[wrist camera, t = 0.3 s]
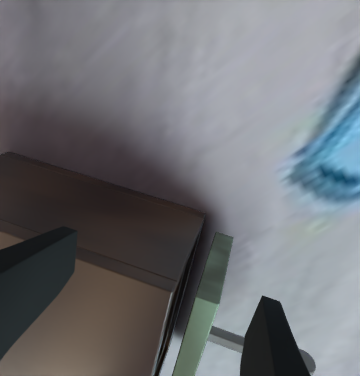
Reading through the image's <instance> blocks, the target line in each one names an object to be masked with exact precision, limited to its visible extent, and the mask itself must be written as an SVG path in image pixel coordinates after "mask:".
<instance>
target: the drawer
mask: <svg viewBox="0 0 360 376" xmlns="http://www.w3.org/2000/svg"><path fill="white" fill-rule="evenodd" d="M232 242H233V237H232V236H228V235H225V234H222V233H219V232H216V233H215V236H214V239H213V242H212V245H211V249H210V252H209V255H208V258H207V261H206V264H205V268H204V271H203V274H202V277H201V280H200V283H199V286H198V290H197V293H196V296H195V299H194V303H193V306H192V309H191V313H190V316H189V320H188V323H187V326H186V330H185V333H184V337H183V340H182V343H181V347H180V350H179V354H178V357H177V360H176V364H175V367H174V371H173V374H172V376H195V374H196V371H197V368H198V365H199V362H200V359H201V356H202V353H203V351H204V348H205V345H206V342H207V340H208V341H210V342H213V343H216V344H218V345H221V346H224V347H226V348H229V349H232V350H234V351H237V352H240V353H242V351H243V345H244V339H245V338H244V337H241V336H239V335H236V334H233V333H230V332H228V331H225V330H222V329H220V328H217V327H214V326H212V324H213V321H214V319H215V316H216V313H217V310H218V307H219V304H220V299H221V294H222V289H223V285H224V280H225V275H226V271H227V266H228V261H229V256H230V252H231V247H232ZM185 268H186V266H185ZM184 272H185V269H184V271H183V274H182V276H181V278H180V281H179V283H178V286H177V288H176V291H175V293H174V297H173V301H172V304H171V308H170V312H169V316H168V320H167V324H166V328H165V332H164V336H163V340H162V344H161V348H160V352H159V356H158V360H157V364H156V368H155V371H154V375H155V372H156V369H157V367H158V364H159V361H160V358H161V356H162V353H163V350H164V347H165V344H166V340H167V337H168V333H169V329H170V325H171V321H172V317H173V314H174V310H175V306H176V302H177V298H178V295H179V291H180V287H181V283H182V279H183V275H184ZM299 351H300V353H301V355H302V358H303V360H304V362H305V364H306V366H307V369H308V371H309V373H310V375H311V376H312V375H313V373H314V371H315V369H316V365H315V362H314V360H313V358H312V357H311V356H310V355H309V354H308V353H307V352H305V351H304V350H301V349H299ZM154 375H153V376H154Z"/></svg>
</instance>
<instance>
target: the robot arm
mask: <svg viewBox="0 0 360 376" xmlns="http://www.w3.org/2000/svg"><path fill="white" fill-rule="evenodd" d="M77 233H78V231H77V230H74V229H71V228H68V227H65V226H62V227H59V228H56V229H53V230H51V231H48V232H46V233H43V234H41V235H38V236H36V237H33V238H30V239H28V240H25V241H23V242H20V243H17V244H15V245H12V246H9V247H6V248H4V249H1V250H0V361H1V359H2V358H3V357H4V355H5V354H6V353H7V352H8V350H9V349H10V348H11V347H12V346H13V344H14V343H15V342H16V341H17V340H18V339H19V338H20V337H21V335H22V334H23V333H24V332H25V331H26V330H27V329H28V328H29V327H30V326H31V324H32V323H33V322H34V321H35V320H36V319H37V318H38V317H39V316H40V315H41V313H42V312H43V311H44V310H45V309H46V308H47V307H48V306H49V305H50V304H51V302H52V301H53V300H54V299H55V298H56V297H57V296H58V294H59V293H60V292H61V290H62V289H63V288H64V286H65V285H66V284H67V282H68V281H69V279H70V278H71V276H72V275H73V273H74V271H75V258H76V245H77ZM240 376H311V375H310V373H309V371H308V369H307V366H306V364H305V362H304V360H303V358H302V355H301V353H300V351H299V349H298V346H297V344H296V342H295V339H294V337H293V334H292V332H291V329H290V327H289V324H288V321H287V319H286V316H285V313H284V311H283V308H282V305H281V303H280V301H277V300H274V299H271V298H268V297H265V296H262V297H261V300H260V302H259V304H258V307H257V309H256V311H255V314H254V316H253V318H252V321H251V323H250V325H249V327H248V330H247V332H246V334H245V339H244V345H243V351H242V357H241V364H240Z"/></svg>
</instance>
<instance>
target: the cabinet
mask: <svg viewBox="0 0 360 376" xmlns="http://www.w3.org/2000/svg"><path fill="white" fill-rule="evenodd" d="M205 215H206V213H204V212H201V211H197V210H194V209H191V208H188V207H185V206H181V205H178V204H175V203H172V202H168V201H165V200H162V199H159V198H156V197H152V196H149V195H146V194H143V193H139V192H136V191H133V190H130V189H126V188H123V187H120V186H117V185H114V184H110V183H107V182H104V181H101V180H97V179H94V178H91V177H88V176H85V175H81V174H78V173H75V172H72V171H68V170H65V169H62V168H59V167H56V166H52V165H49V164H46V163H43V162H39V161H36V160H33V159H30V158H27V157H23V156H20V155H17V154H14V153H10V152H7V153H4V154H1V155H0V250H1V249H4V248H6V247H9V246H12V245H15V244H17V243H20V242H23V241H25V240H28V239H30V238H33V237H36V236H38V235H41V234H43V233H46V232H48V231H51V230H53V229H56V228H59V227H62V226H65V227H68V228H71V229H74V230H77V231H78V233H77V245H76V258H75V271H74V273H73V275H72V276H71V278H70V279H69V281H68V282H67V284H66V285H65V286H64V288H63V289H62V290H61V292H60V293H59V294H58V296H57V297H56V298H55V299H54V300H53V301H52V302H51V304H50V305H49V306H48V307H47V308H46V309H45V310H44V311H43V312H42V313H41V315H40V316H39V317H38V318H37V319H36V320H35V321H34V322H33V323H32V324H31V326H30V327H29V328H28V329H27V330H26V331H25V332H24V333H23V334H22V335H21V337H20V338H19V339H18V340H17V341H16V342H15V343H14V344H13V346H12V347H11V348H10V349H9V350H8V352H7V353H6V354H5V355H4V357H3V358H2V359H1V361H0V376H153V375H154V371H155V368H156V364H157V360H158V356H159V352H160V348H161V344H162V340H163V336H164V332H165V328H166V324H167V320H168V316H169V312H170V308H171V304H172V301H173V297H174V293H175V291H176V288H177V286H178V283H179V281H180V278H181V276H182V274H183V271H184V269H185V272H184V275H183V279H182V283H181V287H180V291H179V295H178V298H177V302H176V306H175V310H174V314H173V317H172V321H171V325H170V329H169V333H168V337H167V340H166V344H165V347H164V350H163V353H162V356H161V358H160V361H159V364H158V367H157V369H156V372H155V375H154V376H159V375H160V373H161V370H162V367H163V364H164V361H165V358H166V355H167V352H168V350H169V347H170V344H171V340H172V336H173V332H174V329H175V325H176V321H177V318H178V314H179V310H180V307H181V303H182V299H183V296H184V292H185V288H186V285H187V281H188V277H189V274H190V270H191V266H192V263H193V259H194V255H195V252H196V248H197V244H198V241H199V237H200V233H201V229H202V226H203V222H204V218H205ZM185 266H186V268H185Z"/></svg>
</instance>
